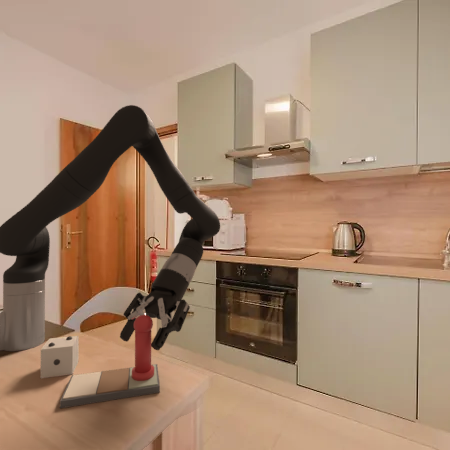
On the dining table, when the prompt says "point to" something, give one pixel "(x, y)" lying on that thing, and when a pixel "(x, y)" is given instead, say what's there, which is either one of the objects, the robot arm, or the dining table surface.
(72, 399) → the board
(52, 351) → the die
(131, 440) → the dining table surface
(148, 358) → the pawn
